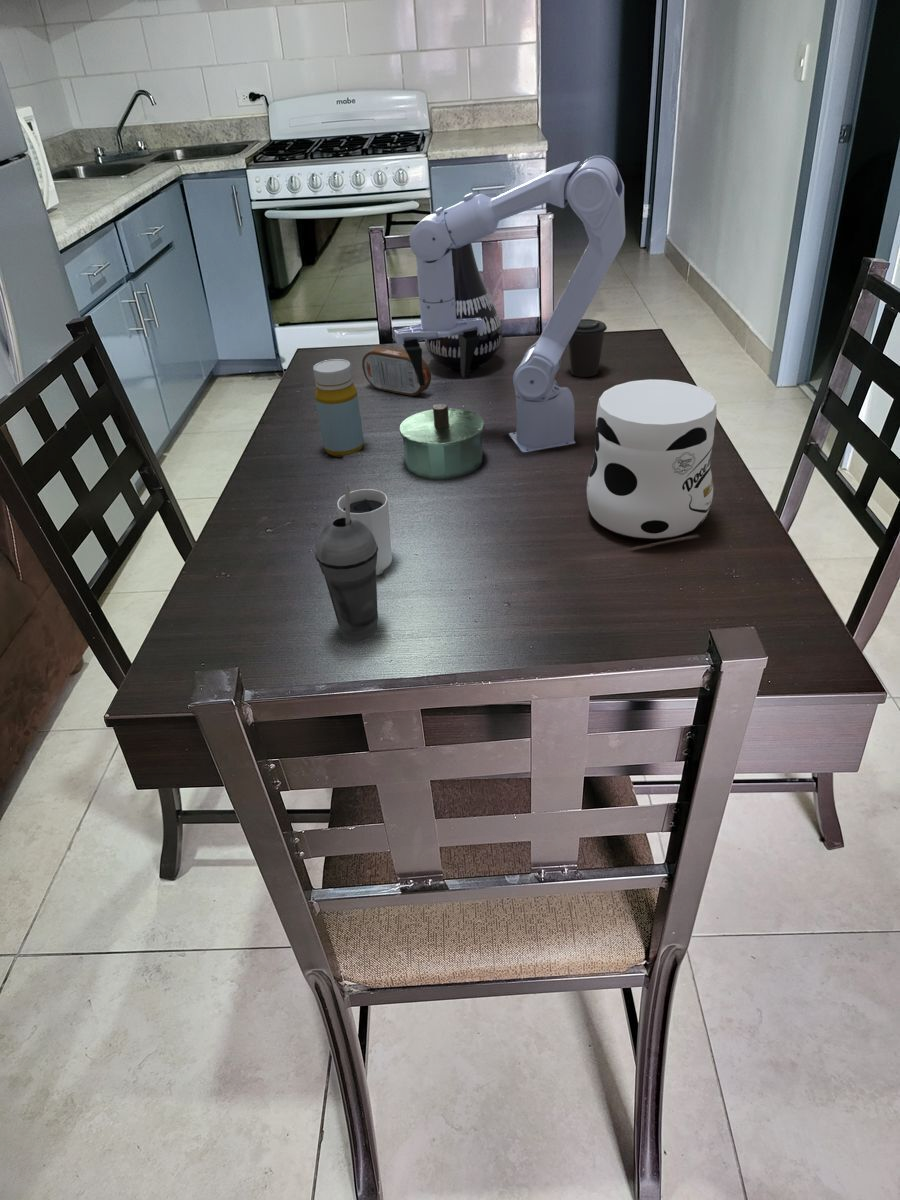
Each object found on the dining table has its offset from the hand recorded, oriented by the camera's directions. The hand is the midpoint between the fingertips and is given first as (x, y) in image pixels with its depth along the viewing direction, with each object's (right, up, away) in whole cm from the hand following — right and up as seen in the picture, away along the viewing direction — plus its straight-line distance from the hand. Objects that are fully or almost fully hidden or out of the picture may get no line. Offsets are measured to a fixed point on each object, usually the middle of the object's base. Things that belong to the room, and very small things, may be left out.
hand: (442, 379), depth 141 cm
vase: (+4, +12, +34) cm, 36 cm away
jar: (0, -15, -2) cm, 15 cm away
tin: (-9, +4, +25) cm, 27 cm away
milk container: (+29, -26, -21) cm, 44 cm away
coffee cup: (+28, +8, +26) cm, 39 cm away
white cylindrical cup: (-10, -33, -26) cm, 43 cm away
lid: (0, -9, -6) cm, 11 cm away
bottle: (-17, -11, +5) cm, 21 cm away
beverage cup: (-10, -41, -37) cm, 56 cm away
